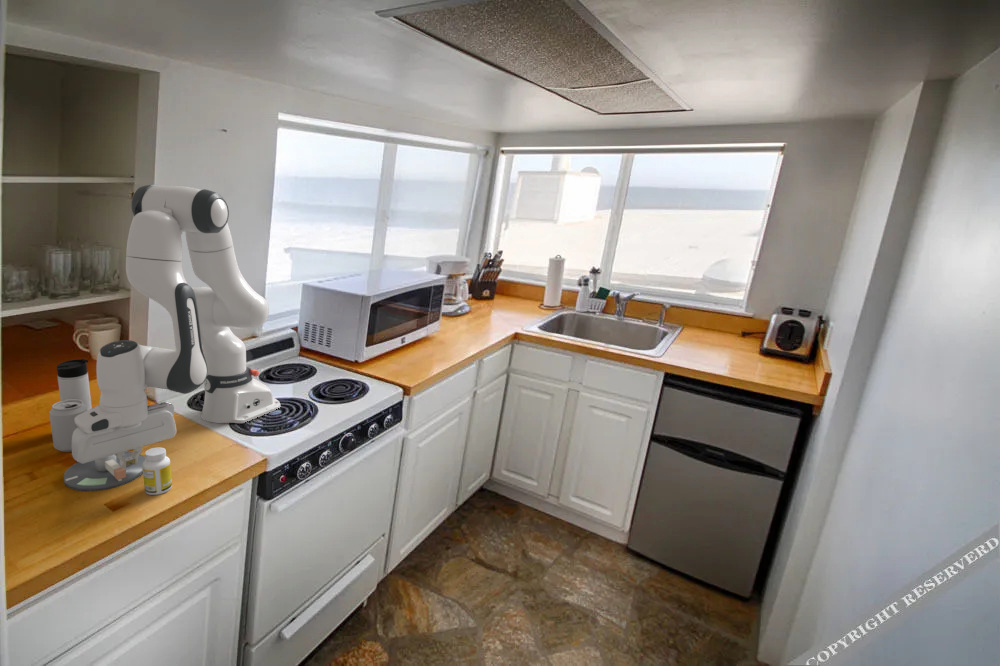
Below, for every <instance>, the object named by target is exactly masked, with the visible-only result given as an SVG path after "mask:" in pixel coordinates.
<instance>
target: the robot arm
mask: <svg viewBox="0 0 1000 666" xmlns="http://www.w3.org/2000/svg"><path fill="white" fill-rule="evenodd" d="M130 206H131V213H132V215H133V218H132V221H131V222H130V226H129V231H128V237H127V242H126V243H127V244H126V251H125V252H126V253H125V254H126V257H125V273H126V277H127V280H128V282H129V283H130V285H131V286H132V287H133V288H134V289H135V290H136V291H137V292H139V293H140V294H141V295H143V296H144V297H146V298H149V299H150V300H153V301H154V302H155V303H157V304H159V306H162V307H163V308H165V310H166V311H167V312H168V314H169V315H170V318H171V321H172V327H173V328H172V329H173V335H174V337H173V338H174V343H175V344H174V346H175V349H173V348H172V349H171V348H163V347H157V346H152V345H151V346H150V345H141V344H140V343H138V342H137V341H134V340H129V339H127V340H126V339H123V340H121V339H120V340H117V341H112V342H108V343H107V344H105V345H102V347H100V349H99V351H98V354H97V357H96V369H95V370H96V381H97V386H98V389H99V391H100V397H99V401H98V402H99V404H97V405H96V406H94V407H92V409H90V410H88V411H86V412H84V413H82V414H80V415H78V416H76V417H75V419H74V420H75V424H76V425H77V428H76V429H75V430H74V432H73V435H72V451H71V455H72V458H73V460H75V461H76V463H77V462H79V463H81V464H84V463H87V462H91V461H94V460H98V459H101V458H104V457H108V456H111V455H115V456H116V457H117V458H119V459H120V462H121V467H123V468H127V467H130V466H133V465H136V464H138V457H139V455H141V453H142V452H143V447H145V446H148V445H152V444H155V443H158V442H159V443H160V442H162V441H166V440H169V439H172V438H173V439H174V437H175V436H176V435H177V426H176V421H175V418H174V415H175V406H174V405H173V404H172V403H171V402H167V401H162V402H159V403H156V404H155V403H154V404H150V405H148V397H147V392H146V389H147V388H155V389H160V390H168V391H172V392H176V393H179V394H183V395H185V394H189V393H192V392H193V391H196V390H197V389H198V388H200V387H202V385H203V387H204V388H203V389H204V391H205V392H204V401H203V407H202V411H201V414H200V417H201V418H202V419H203V420H205V421H207V422H211V423H218V424H225V423H226V424H227V423H229V424H230V423H235V424H245V422H246V423H248V422H249V421H253V420H255V419H257V417H258V418H260V417H262V416H265V415H267V414H270V413H272V412H274V411H277V410H279V409H281V408H280V407H282V406H281V403H280V401H279V400H278V399H277V398H275V397H274V396H273V393H272V390H271V389H270V387H269V386H268V385H266V384H264V383H262V382H261V381H259V380H257V379H255V378H257V377H259V374H260V372H259V370H257V369H255V368H253V369H252V368H251V367H248V366H247V347H246V345H245V343H244V342H243V340H242V339H240V338H239V337H238V336H237V335H235V334H234V333H233V331H232V329H239V330H251V329H259V328H261V327H263V326H264V324H265V323H266V321H267V320H268V318H269V315H270V307H269V304H268V302H267V299H265V297H264V296H262V295H261V294H259V293H258V292H256V291H255V290H254V289H253V288H252V286H251V285H250V284H249V283H248V281H247V280H246V279H245V278H244V276H243V274H242V272H241V271H240V267H239V264H238V261H237V256H236V251H235V247H234V240H233V237H232V233H231V230H230V226H229V223H228V221H229V217H230V211H229V206H228V204H227V202H226V200H225V199H224V197H223V196H222V195H221V194H220V193H218V192H215V191H212V190H209V189H201V188H196V187H192V186H186V185H184V186H183V185H176V186H175V185H159V184H147V185H142V186H139V187H138V188H137V189H136V190H135V191H134V193H133V195H132V196H131V202H130ZM183 232H185V233H184V234H185V238H186V239H185V240H186V245H187V250H188V253H189V258H190V262H191V266H192V267H191V268H192V271H193V273H194V275H195V276H196V278H197V279H198V280H200V281H202V282H203V283H205V284H206V285H207V286H194V287H193V286H191V285H189V283H188V282H187V280H186V278H185V275H184V269H183V244H182V243H183V242H182V234H183ZM231 328H232V329H231ZM253 377H255V378H253ZM278 408H279V409H278ZM276 409H277V410H276ZM269 412H270V413H269ZM264 414H265V415H264ZM252 419H253V420H252ZM247 421H248V422H247ZM131 450H133V451H132V452H133V453H132V455H131V456H130V457H127V458H123V457H122V456H124V452H129V451H131Z"/></svg>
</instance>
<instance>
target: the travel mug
mask: <svg viewBox="0 0 1000 666" xmlns="http://www.w3.org/2000/svg"><path fill="white" fill-rule="evenodd" d="M88 363H89V360H87V358H79V359H77V358H76V359H70V360H66V361H63V362H60V363H59V364H57V366H56V372H57V383H58V389H59V391H58V392H59V398H60V400H59V401H63V400H70V399H77V400H82V401H83V402H84V403H83V404H85V405H86V406H87V409H88V410H90V409H92V408H93V407H92V399H91V398H92V397H91V388H90V380H89V371H88Z"/></svg>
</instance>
